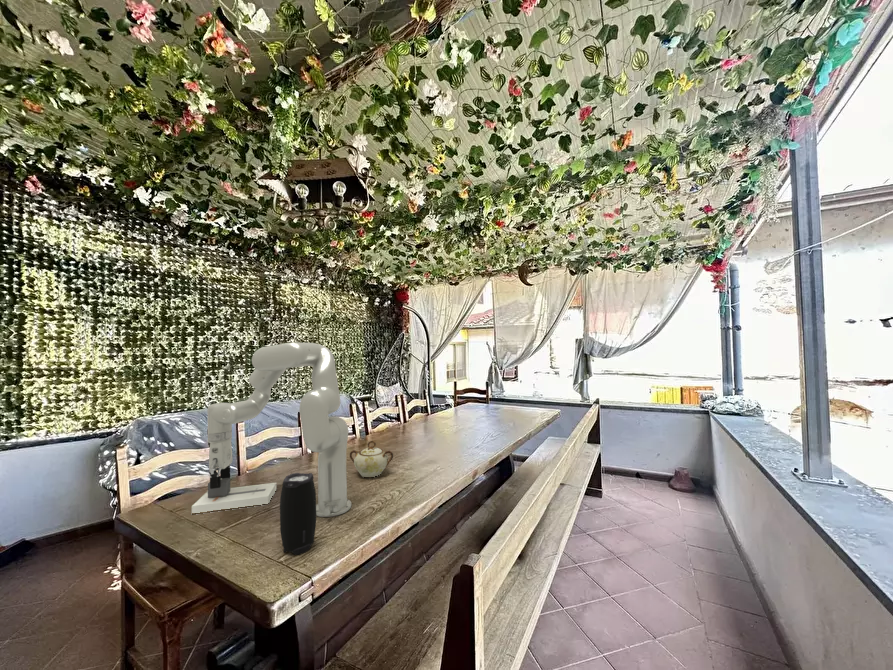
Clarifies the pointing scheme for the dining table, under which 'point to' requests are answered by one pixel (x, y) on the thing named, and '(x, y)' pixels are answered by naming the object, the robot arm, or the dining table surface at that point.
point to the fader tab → (222, 490)
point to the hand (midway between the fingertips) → (220, 483)
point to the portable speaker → (298, 512)
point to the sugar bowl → (371, 460)
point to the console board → (236, 498)
